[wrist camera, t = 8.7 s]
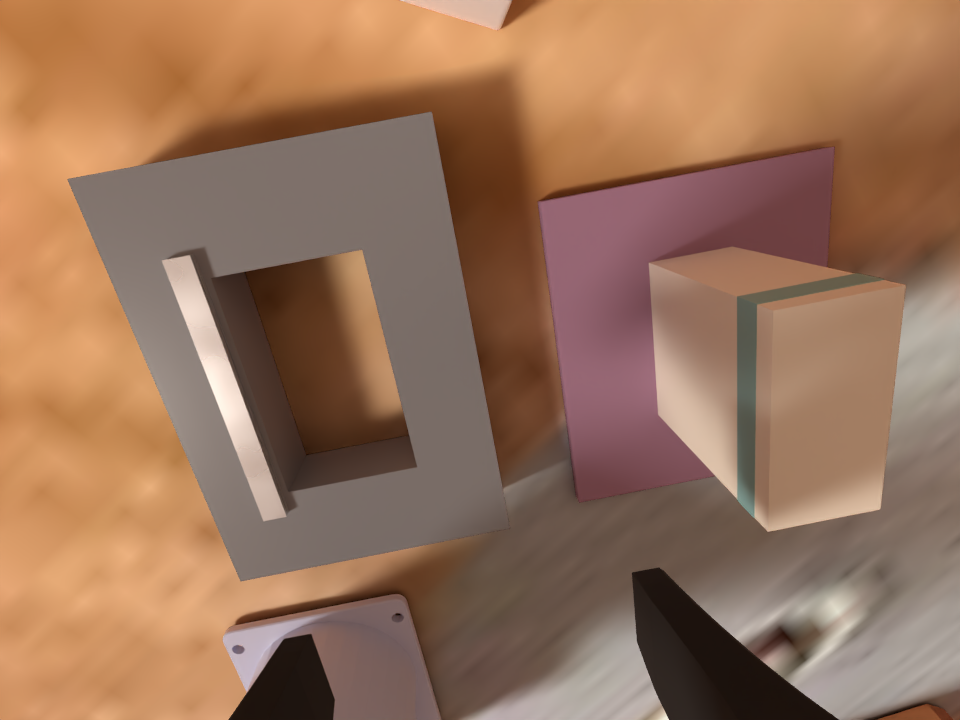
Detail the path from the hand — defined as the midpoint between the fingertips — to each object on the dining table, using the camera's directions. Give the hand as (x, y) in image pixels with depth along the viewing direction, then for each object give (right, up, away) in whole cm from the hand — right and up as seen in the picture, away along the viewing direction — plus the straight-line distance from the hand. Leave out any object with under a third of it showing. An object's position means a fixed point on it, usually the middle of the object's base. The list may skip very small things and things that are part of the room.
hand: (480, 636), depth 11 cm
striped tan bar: (+8, +7, +7) cm, 13 cm away
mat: (+8, +7, +8) cm, 13 cm away
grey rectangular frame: (-5, +6, +7) cm, 11 cm away
